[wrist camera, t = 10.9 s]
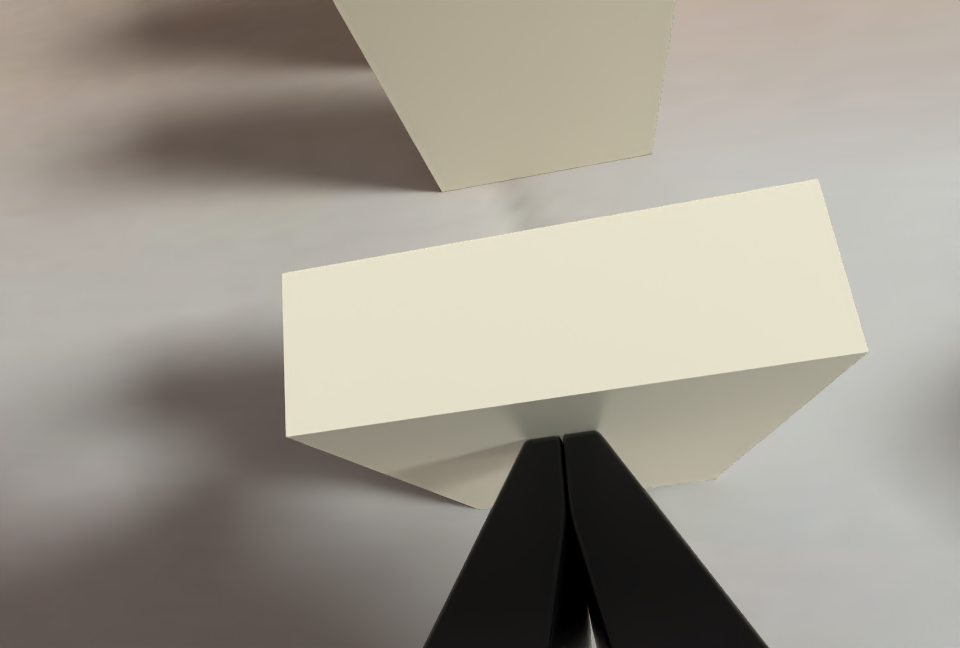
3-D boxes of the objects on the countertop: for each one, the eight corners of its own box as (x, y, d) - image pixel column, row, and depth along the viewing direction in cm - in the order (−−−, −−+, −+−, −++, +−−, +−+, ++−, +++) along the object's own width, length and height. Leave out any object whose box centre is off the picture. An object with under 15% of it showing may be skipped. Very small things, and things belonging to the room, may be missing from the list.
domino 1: (652, 153, 17) (716, -258, 7) (442, 191, 18) (251, -142, 8) (640, 91, 17) (687, -381, 8) (434, 131, 18) (242, -258, 8)
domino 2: (714, 479, 15) (868, 352, 6) (479, 509, 16) (286, 437, 7) (699, 404, 16) (817, 178, 6) (471, 436, 17) (281, 273, 7)
